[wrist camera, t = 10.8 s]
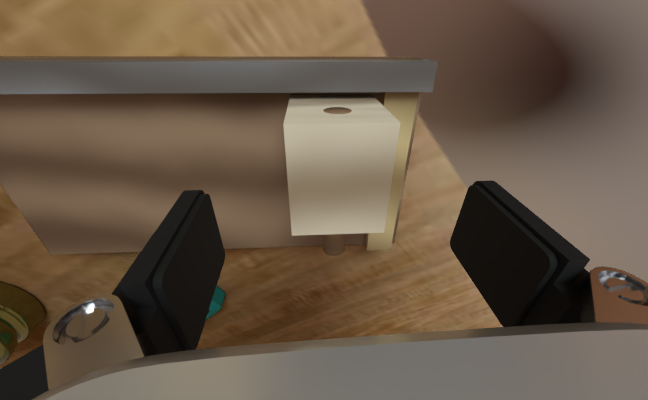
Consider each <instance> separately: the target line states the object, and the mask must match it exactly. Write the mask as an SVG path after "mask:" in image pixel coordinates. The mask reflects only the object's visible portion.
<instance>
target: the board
mask: <svg viewBox="0 0 648 400" xmlns="http://www.w3.org/2000/svg"><path fill="white" fill-rule="evenodd" d="M437 66H438V62H435V61H430V60H426V59H422V58H418V57H2V56H0V184H1V185H2V187H3V188H4V190H5V191H6V192H7V194H8V195H9V197H10V198H11V199H12V201H13V202H14V204H15V205H16V206H17V208H18V209H19V211H20V212H21V214H22V215H23V216H24V218H25V219H26V221H27V222H28V223H29V225H30V226H31V228H32V229H33V231H34V232H35V233H36V235H37V236H38V238H39V239H40V240H41V242H42V243H43V245H44V246H45V248H46V249H47V250H48V252H49V253H50V255H59V254H89V253H119V252H141V251H142V249H143V248H144V246H145V245H146V244H147V242H148V241H149V239H150V238H151V236H152V235H153V233H154V232H155V231H156V230H157V228H158V227H159V225H160V224H161V223H162V221H163V220H164V218H165V217H166V215H167V214H168V212H169V211H170V209H171V208H172V207H173V205H174V204H175V202H176V201H177V199H178V198H179V196H180V195H181V193H182V192H183V191H185V190H203V192H204V193H205V194H209V195H210V198H211V201H212V205H213V209H214V213H215V217H216V220H217V224H218V228H219V232H220V236H221V239H222V243H223V247H224V249H238V248H268V247H298V246H323V235H298V236H292V231H291V218H290V205H289V192H288V179H287V166H286V154H285V141H284V128H283V123H284V119H285V115H286V111H287V107H288V103H289V99H290V95H373V96H374V97H375V98H376V99H377V100H378V101H379V102H380V103H381V104H382V105H383V106H384V107H385V108H386V109H387V110H388V111H389V112H390V113H391V114H392V115H393V116H394V117H395V118H396V119H397V120H398V121H399V122H400V130H399V136H398V143H397V149H396V156H395V163H394V169H393V176H392V183H391V189H390V196H389V203H388V209H387V216H386V223H385V229H384V233H357V234H345V243H344V245H358V244H365V246H366V250H367V251H373V250H391V245H392V243H394V240H395V235H396V229H397V224H398V218H399V213H400V207H401V202H402V196H403V191H404V186H405V180H406V175H407V169H408V164H409V158H410V153H411V147H412V142H413V137H414V131H415V126H416V120H417V115H418V109H419V104H420V98H421V93H422V92H432V90H433V85H434V80H435V75H436V70H437Z"/></svg>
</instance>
